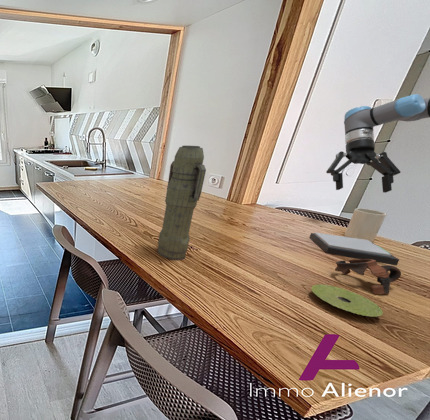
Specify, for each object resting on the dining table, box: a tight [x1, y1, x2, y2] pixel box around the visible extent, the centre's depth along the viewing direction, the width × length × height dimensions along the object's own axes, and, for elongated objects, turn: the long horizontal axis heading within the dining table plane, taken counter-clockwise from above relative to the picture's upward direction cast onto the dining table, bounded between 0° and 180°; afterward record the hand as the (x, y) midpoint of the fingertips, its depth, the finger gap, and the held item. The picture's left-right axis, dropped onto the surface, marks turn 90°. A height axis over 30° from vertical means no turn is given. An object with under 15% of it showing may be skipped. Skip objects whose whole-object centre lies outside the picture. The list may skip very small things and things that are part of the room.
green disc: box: [310, 283, 384, 318], centre depth 58 cm, size 11×11×2 cm
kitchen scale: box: [309, 231, 400, 266], centre depth 85 cm, size 16×14×3 cm
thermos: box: [156, 145, 207, 261], centre depth 76 cm, size 9×12×35 cm
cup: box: [343, 207, 387, 243], centre depth 93 cm, size 7×7×11 cm
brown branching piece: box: [334, 258, 402, 295], centre depth 66 cm, size 12×10×8 cm
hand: (362, 190), depth 97 cm, fingers open, 13 cm apart
